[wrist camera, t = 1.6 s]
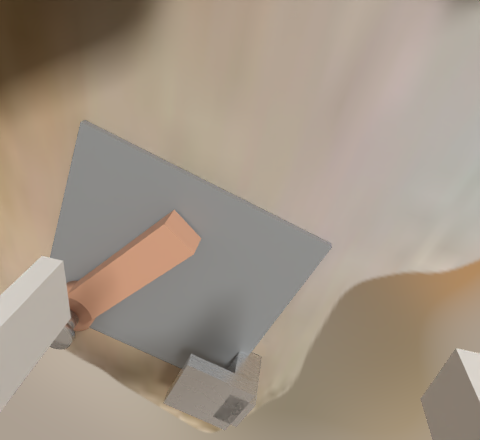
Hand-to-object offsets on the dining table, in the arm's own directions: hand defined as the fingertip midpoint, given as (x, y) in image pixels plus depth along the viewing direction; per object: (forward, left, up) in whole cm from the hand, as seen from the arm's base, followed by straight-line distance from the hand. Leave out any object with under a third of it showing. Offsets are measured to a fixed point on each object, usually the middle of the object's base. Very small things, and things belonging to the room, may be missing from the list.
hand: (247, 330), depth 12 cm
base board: (-4, -20, -22) cm, 30 cm away
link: (-9, -21, -21) cm, 31 cm away
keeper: (+7, -28, -22) cm, 36 cm away
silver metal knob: (-12, -28, -18) cm, 35 cm away
